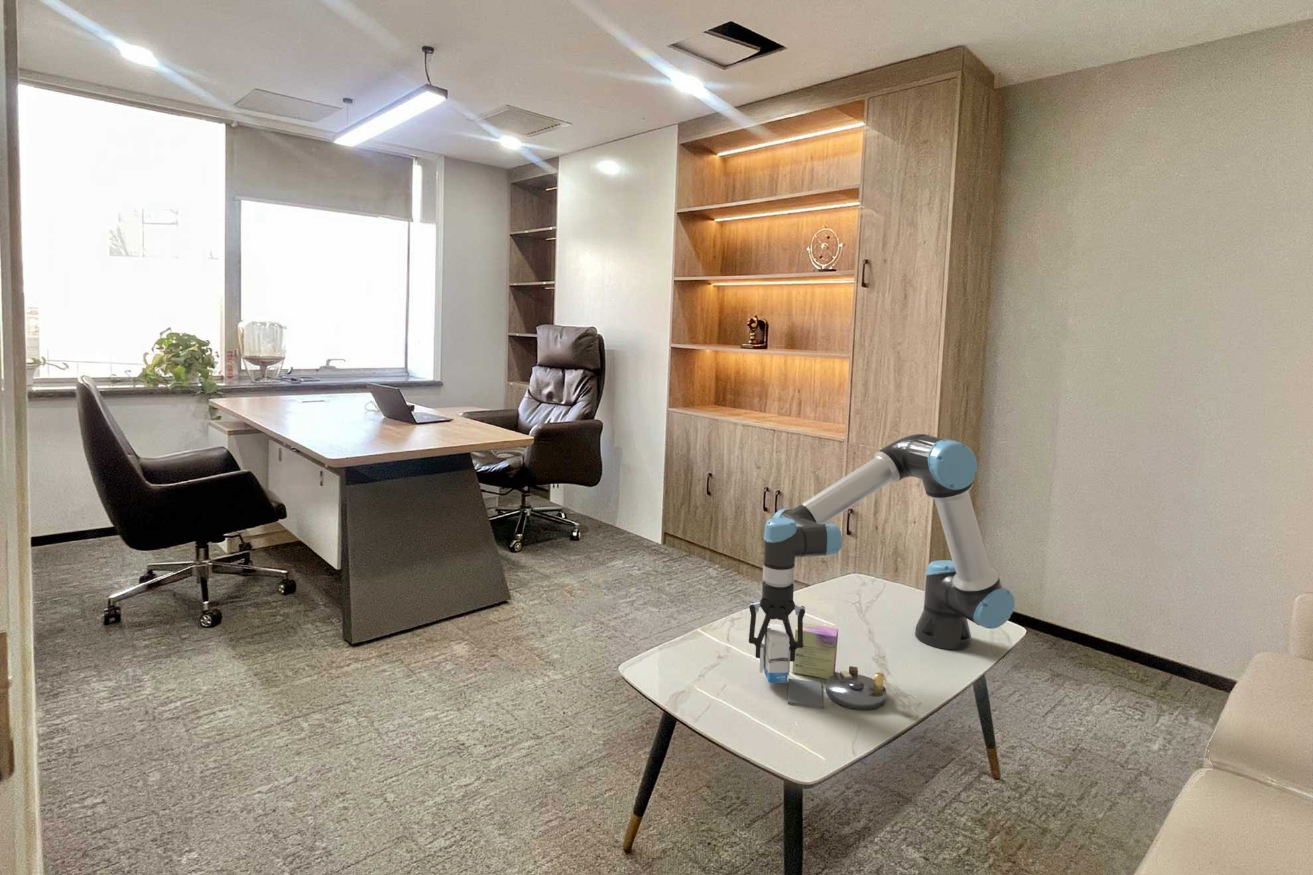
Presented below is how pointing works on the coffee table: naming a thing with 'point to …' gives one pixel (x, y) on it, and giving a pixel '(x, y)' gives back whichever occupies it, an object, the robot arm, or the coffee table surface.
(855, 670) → the brown short block
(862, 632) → the coffee table surface
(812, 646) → the box
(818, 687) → the mat
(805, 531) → the robot arm
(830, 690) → the dark pot lid
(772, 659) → the ink box
